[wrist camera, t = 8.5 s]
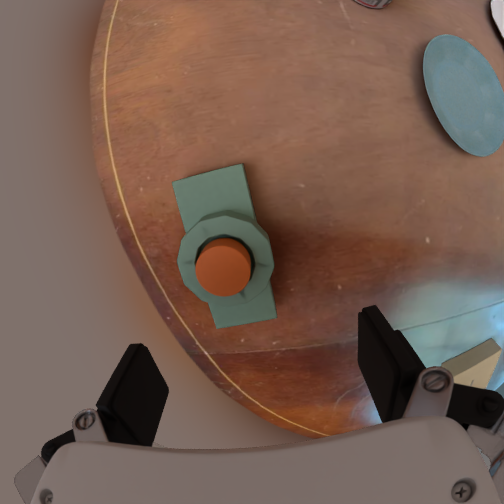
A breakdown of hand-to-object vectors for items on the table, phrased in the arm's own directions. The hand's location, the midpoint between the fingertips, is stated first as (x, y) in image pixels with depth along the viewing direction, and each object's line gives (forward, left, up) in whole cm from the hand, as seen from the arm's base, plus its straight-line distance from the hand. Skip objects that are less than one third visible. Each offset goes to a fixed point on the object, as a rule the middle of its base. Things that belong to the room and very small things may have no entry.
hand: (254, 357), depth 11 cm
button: (+1, +2, -8) cm, 8 cm away
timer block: (+1, +2, -12) cm, 12 cm away
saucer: (+11, -22, -12) cm, 28 cm away
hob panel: (-26, -25, -12) cm, 38 cm away
